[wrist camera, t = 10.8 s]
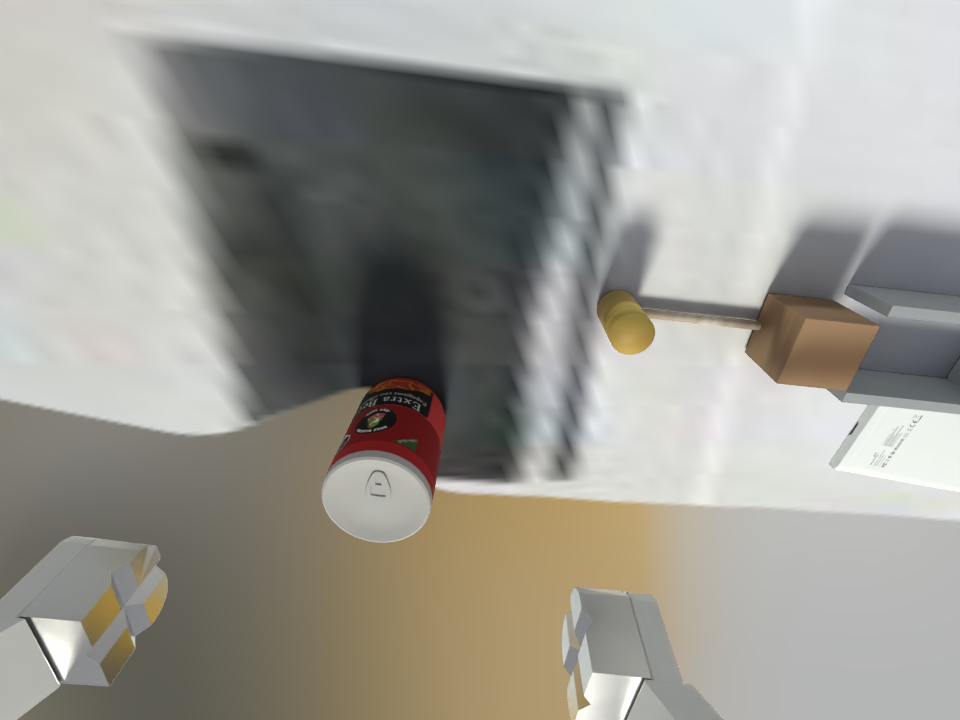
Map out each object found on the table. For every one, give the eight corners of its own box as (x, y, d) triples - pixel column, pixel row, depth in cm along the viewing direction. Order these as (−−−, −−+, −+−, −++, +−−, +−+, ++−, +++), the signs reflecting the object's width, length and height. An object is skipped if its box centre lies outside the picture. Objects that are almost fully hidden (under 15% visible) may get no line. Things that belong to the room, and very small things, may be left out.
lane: (849, 284, 36) (893, 305, 32) (1006, 301, 36) (1069, 324, 32) (807, 372, 39) (841, 401, 35) (950, 387, 39) (1001, 418, 35)
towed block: (604, 275, 36) (619, 298, 31) (833, 300, 36) (880, 326, 32) (590, 335, 38) (602, 364, 34) (806, 358, 38) (846, 390, 34)
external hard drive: (949, 482, 45) (824, 459, 44) (1010, 410, 41) (874, 384, 40) (964, 494, 43) (835, 471, 43) (1029, 421, 39) (888, 395, 39)
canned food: (437, 369, 40) (417, 450, 31) (454, 444, 44) (441, 539, 34) (350, 379, 41) (304, 462, 31) (374, 453, 45) (339, 548, 35)
